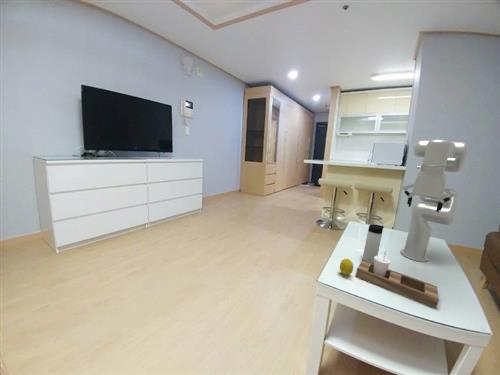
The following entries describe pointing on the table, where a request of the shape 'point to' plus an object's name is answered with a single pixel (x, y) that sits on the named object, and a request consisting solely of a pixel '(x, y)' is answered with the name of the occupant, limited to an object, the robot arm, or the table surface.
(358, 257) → the table surface
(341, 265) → the lemon
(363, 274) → the wooden frame
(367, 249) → the travel mug
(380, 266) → the smoothie
